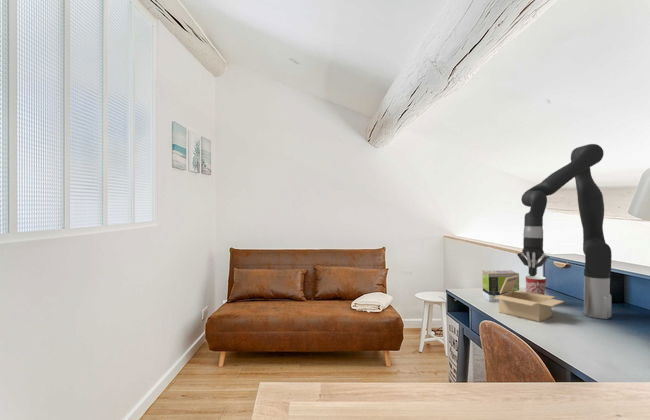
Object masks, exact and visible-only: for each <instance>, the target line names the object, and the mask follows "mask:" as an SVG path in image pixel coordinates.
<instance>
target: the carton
mask: <svg viewBox="0 0 650 420" xmlns="http://www.w3.org/2000/svg"><path fill="white" fill-rule="evenodd" d="M495 298H496V299H499V302H498V305H499V306H498V307H499V308H498V311H499V313H500V314H503V315H508V316H512V317H516V318H520V319H525V320H529V321H533V322H537V323H539V322H543V321H544V320H547V319H549V318H552V307H555V306H558V305H560V304H563V303H565V301H564V300H558V299H555V298H556V296H552V295H548V294H547V295H546V294H545V295H542V294H536V293H531V292H526V290H525V291H524V290H520V289H519V290H518V291H515V292H513V291H512V292H509V293H505V294H502V295H499V296H497V297H495Z"/></svg>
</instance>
